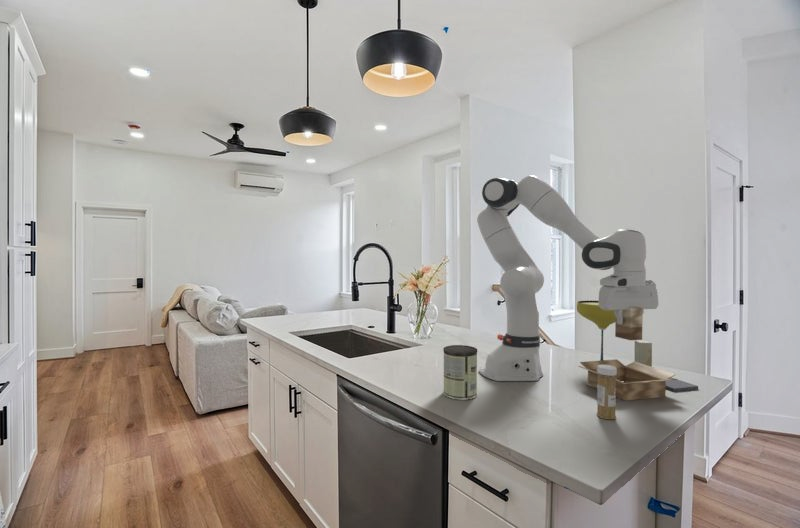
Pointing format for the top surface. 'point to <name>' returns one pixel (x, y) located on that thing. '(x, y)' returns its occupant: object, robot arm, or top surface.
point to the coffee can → (460, 372)
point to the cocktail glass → (596, 316)
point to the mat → (679, 385)
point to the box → (643, 352)
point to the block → (630, 324)
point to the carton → (632, 379)
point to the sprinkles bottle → (606, 391)
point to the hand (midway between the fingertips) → (628, 323)
